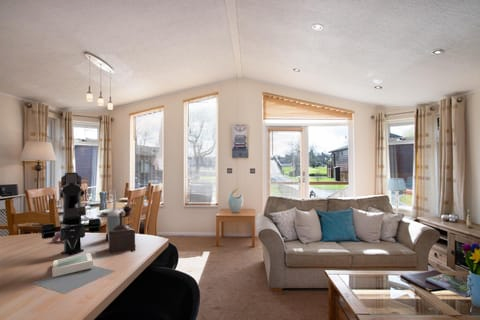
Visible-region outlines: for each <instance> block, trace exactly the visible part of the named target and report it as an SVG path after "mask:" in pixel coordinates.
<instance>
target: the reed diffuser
mask: <svg viewBox="0 0 480 320" xmlns="http://www.w3.org/2000/svg"><path fill="white" fill-rule="evenodd" d="M112 201H113V202H112V203H113V204H112V205H113V206H112V207H113V208H112V210H110V211H109V212H108V213H107V216H106V217H107V219H106V220H107V221H106V222H107V223H106V224H107V226H106V227H107V228H106V229H107V230H106V232H107V233H105V241H106V242H108V228H114V227H115V226H117V225H119V224H120V218H119V216H120V215H119V213H122V212H121V211H120V210H118V209H117V208H116V205H117V204H116V203H117V202H116V189H113V196H112Z"/></svg>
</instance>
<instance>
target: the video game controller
mask: <svg viewBox="0 0 480 320" xmlns="http://www.w3.org/2000/svg"><path fill="white" fill-rule="evenodd" d="M58 240H59V241H61V233H60V232H57V233H55V236H54V237H53V238H51V244H52V243H57V241H58ZM61 242H64V240H62V241H61Z"/></svg>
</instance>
